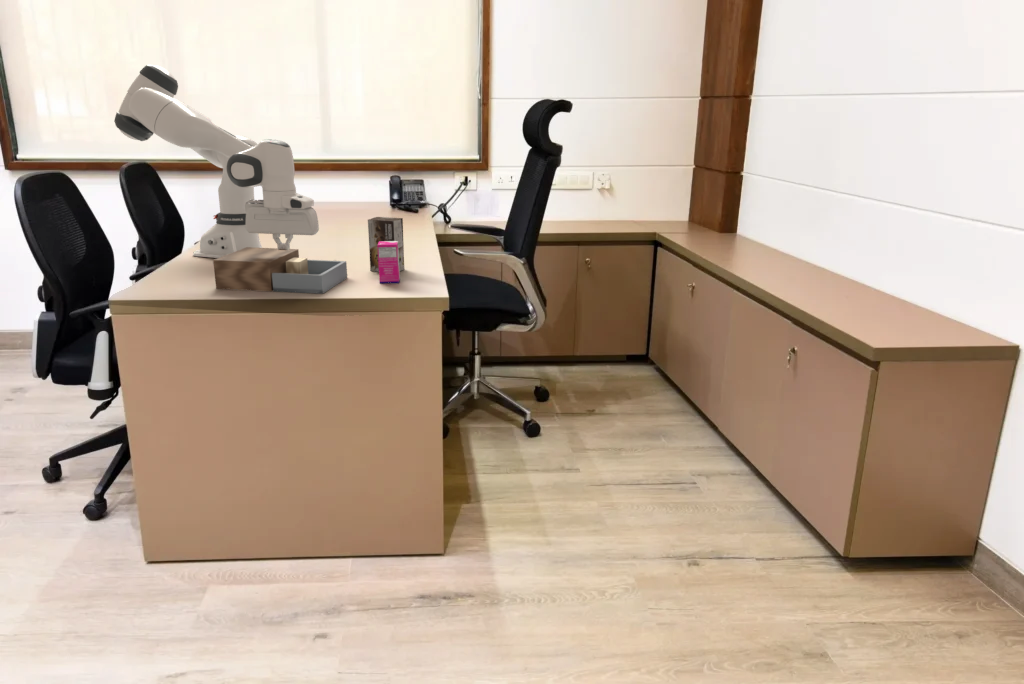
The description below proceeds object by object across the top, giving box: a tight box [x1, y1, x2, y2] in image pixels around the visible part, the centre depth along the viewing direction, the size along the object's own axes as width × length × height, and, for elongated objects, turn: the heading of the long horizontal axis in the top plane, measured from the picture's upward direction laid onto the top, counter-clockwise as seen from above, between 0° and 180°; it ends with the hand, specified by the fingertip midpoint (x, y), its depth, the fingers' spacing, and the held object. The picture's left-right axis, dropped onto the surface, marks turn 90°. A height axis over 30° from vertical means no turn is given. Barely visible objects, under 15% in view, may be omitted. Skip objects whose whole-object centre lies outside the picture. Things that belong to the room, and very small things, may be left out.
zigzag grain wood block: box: [212, 247, 300, 292], centre depth 214 cm, size 16×20×8 cm
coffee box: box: [367, 216, 405, 272], centre depth 231 cm, size 9×6×16 cm
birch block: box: [286, 257, 308, 274], centre depth 212 cm, size 6×6×4 cm
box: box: [272, 259, 348, 295], centre depth 212 cm, size 14×20×5 cm
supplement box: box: [377, 241, 401, 284], centre depth 217 cm, size 6×6×12 cm
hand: (283, 249), depth 211 cm, fingers closed
